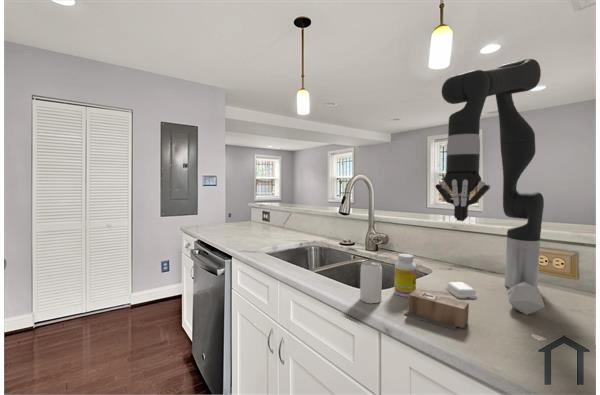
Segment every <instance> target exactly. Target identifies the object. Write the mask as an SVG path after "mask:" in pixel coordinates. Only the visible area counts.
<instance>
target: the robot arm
mask: <svg viewBox="0 0 600 395" xmlns="http://www.w3.org/2000/svg"><path fill="white" fill-rule="evenodd" d="M540 65H541V64H540V63H539V62H538V61H537V59H533V58H527V59H526V58H525V59H521V60H516V61H513V62H510V63H504V64H501V65H499V66H497V67H496V68H489V69H488V68H487V69H474V70H470V71H467V72H463V73H459V74H455V75H452V76H450V77H448V78H447V79H446V80H445V81H444V82H443V84H442V86H441V96H442V99H443V100H444V101H445V102H447V103H448V104H452V105H457V104H462V103H465V104H464V106H463V107H462V108H461V109H460V110H458V111H456V112H453V113H451V114H450V116H449V117H448V127H447V128H448V130H447V131H448V134H447V143H446V149H445V154H446V163H445V168H446V169H445V175H444V177H443V180H442V182H439V183H438V184H436V185H435V187H434V188H435V189H436V191H438V193H439V194H440V195H441V197H443V199H444V200H445V202H446V203H447V204H451V205H453V206H454V214H453V215H454V216H453V217H454V219H456V221H460V222H464V221H465V220H466V219H467V218H468V217H469V213H468V212H469V206H471V205H474V204H476V203H477V202H478V201H479V200H480V199H481V198H482V197H484V195H485V194H486V193H487V192H488V191H489V190H490V189H491V185H489V184H486V183H485V182H483V181H482V177H481V175H480V158H481V157H480V156H481V151H480V150H481V142H480V141H481V140H480V124H481V123H480V121H481V116H482V112H483V109H484V106H485V103H486V99H487V97H491V96H494V95H495V99H496V100H495V101H496V106H497V113H498V122H499V141H500V144H499V145H500V157H501V163H502V164H501V165H502V179H503V181H502V207H503V208H502V209H503V213H504V215H505V216H506V217H508V218H514V219H524V220H527V221H526V222H527V223H525V224H524V225H521V226H516V227H515V226H514V227H511V228H508V229H507V232H506V233H507V234H506V248H505V249H506V253H505V254H506V255H505V270H504V286H506V288H508V289H509V288H511V287H513V286H515V285H517V284H520V283H522V282H525V283H528V284H530V285H532V286H534V287H537V288H538V284H539V283H538V282H539V268H540V267H539V266H540V265H539V264H540V252H541V250H540V247H541V246H540V245H541V235H542V234H541V232H542V225H543V224H542V222H543V215H544V214H543V213H544V204H545V200H544V197H543V194H542V193H540V192H538V191H519V190H517V184H518V180H519V179H520V177H521V175H522V174H523V172H524V171H525V170H526V169H527V167H528V166H529V165H530V163H531V162H532V161H533V159H534V157H535V154H536V134H535V131H534V129H533V128H532V127H531V125H530V124H529V122H527V120H526V119H525V118H524V117H523V116H522V115H521V114H520V112H519V111H518V110H517V108H516V105H515V102H514V99H513V94H518V93H523V92H528V91H532V90H533V89H535V88H536V87H537V86H538V85H539V82H540V80H541V76H542V72H541V71H542V70H541V66H540ZM476 187H477V192H476V193H475V194H474V195H473V196H472V197H471V192H473V191H475V189H476ZM448 188H449V190H450V191H451V192H452V195H451V194H450V192H449V191H448V190H447V189H448ZM470 197H471V198H470Z"/></svg>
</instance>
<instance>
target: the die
mask: <svg viewBox="0 0 600 395" xmlns="http://www.w3.org/2000/svg"><path fill="white" fill-rule="evenodd" d="M506 292H507V298H508V302H509V304H510V306H512V308H513V309H515V310H516V311H518V312H520V313H522V314H524V315H525V316H527V315H530V314H532V313H535V312H537V311H538V310H541V309H544V308H545V307H546V306H545V303H544V300H543V299H544V298H543V296H542V294H541V292H540V289H539V287H538V286H537V287H534V286H532V285H530V284H528V283H525V282H522V283H520V284H517V285H515V286H513V287H511V288H509V287H508V288H507V289H506Z"/></svg>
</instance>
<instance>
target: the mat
mask: <svg viewBox="0 0 600 395" xmlns="http://www.w3.org/2000/svg"><path fill="white" fill-rule="evenodd" d="M403 315H404V316H407V317H411V318H415V319H417V320H421V321H425V322H427V323H430V324H434V325H437V326H440V327H444V328H447V329H450V330H454V331H455V330H456V329H457V328H458V327H457V326H454V325H451V324H447V323H444V322H440V321H437V320H434V319H430V318H427V317H424V316H420V315H417V314H413V313H410V312H408V310H407V311H405V312H404V314H403Z"/></svg>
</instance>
